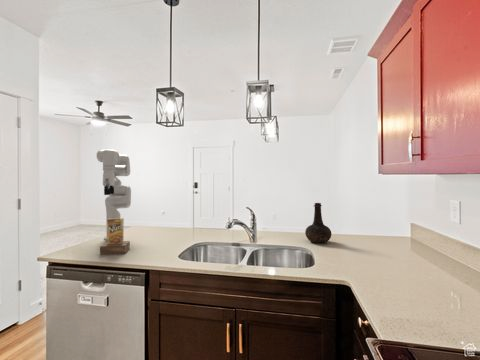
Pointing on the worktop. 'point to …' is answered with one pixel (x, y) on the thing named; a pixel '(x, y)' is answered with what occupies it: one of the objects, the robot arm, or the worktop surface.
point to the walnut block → (114, 248)
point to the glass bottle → (318, 228)
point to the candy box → (115, 231)
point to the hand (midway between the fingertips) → (109, 194)
